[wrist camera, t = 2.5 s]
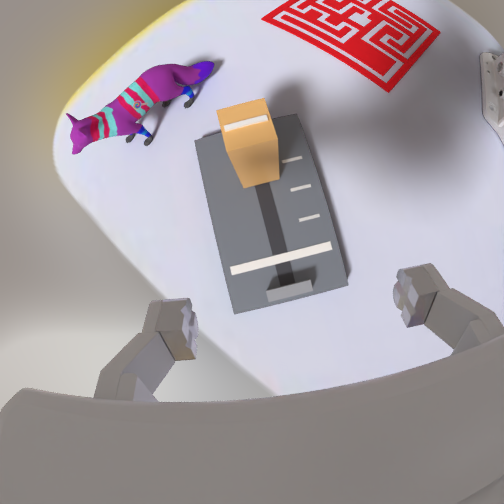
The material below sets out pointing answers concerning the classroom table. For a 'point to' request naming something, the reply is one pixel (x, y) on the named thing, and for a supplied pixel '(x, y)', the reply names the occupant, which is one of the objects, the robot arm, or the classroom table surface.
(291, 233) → the fader board
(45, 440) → the robot arm
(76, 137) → the purple fox figurine
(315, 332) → the classroom table surface
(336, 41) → the maze puzzle
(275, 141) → the fader cap
